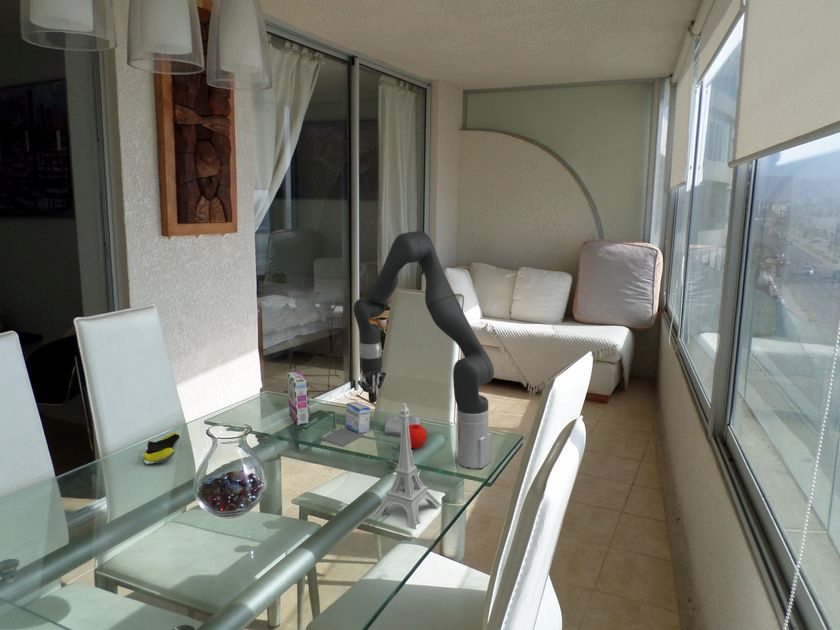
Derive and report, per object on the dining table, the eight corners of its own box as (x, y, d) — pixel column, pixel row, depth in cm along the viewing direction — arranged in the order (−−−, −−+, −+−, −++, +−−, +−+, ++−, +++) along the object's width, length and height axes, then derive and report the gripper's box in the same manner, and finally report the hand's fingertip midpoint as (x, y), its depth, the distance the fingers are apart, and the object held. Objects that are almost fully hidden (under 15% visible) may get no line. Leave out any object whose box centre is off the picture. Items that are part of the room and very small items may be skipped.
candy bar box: (311, 423, 229) (307, 379, 225) (296, 426, 227) (293, 381, 223) (302, 412, 239) (299, 370, 235) (289, 415, 237) (285, 372, 233)
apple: (410, 439, 214) (409, 418, 212) (431, 444, 210) (431, 422, 208) (398, 449, 207) (397, 427, 205) (420, 454, 203) (419, 432, 202)
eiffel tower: (372, 516, 169) (367, 407, 162) (399, 493, 180) (396, 391, 173) (416, 530, 163) (413, 417, 155) (442, 505, 174) (440, 399, 167)
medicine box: (345, 427, 224) (345, 402, 223) (355, 424, 227) (356, 400, 225) (358, 434, 218) (359, 409, 217) (369, 431, 221) (370, 406, 220)
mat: (363, 435, 218) (363, 434, 218) (343, 446, 210) (343, 445, 210) (341, 429, 224) (341, 428, 223) (320, 439, 216) (320, 438, 216)
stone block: (419, 442, 216) (421, 424, 225) (417, 430, 214) (420, 413, 223) (383, 443, 218) (387, 425, 227) (382, 431, 216) (385, 414, 225)
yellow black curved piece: (181, 445, 214) (149, 449, 212) (180, 430, 213) (147, 433, 211) (175, 466, 200) (140, 470, 198) (173, 449, 198) (138, 453, 197)
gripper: (366, 361, 217) (369, 410, 221) (391, 351, 227) (393, 398, 231) (349, 357, 221) (352, 405, 225) (374, 348, 231) (376, 394, 235)
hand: (373, 401), depth 228 cm, fingers closed
